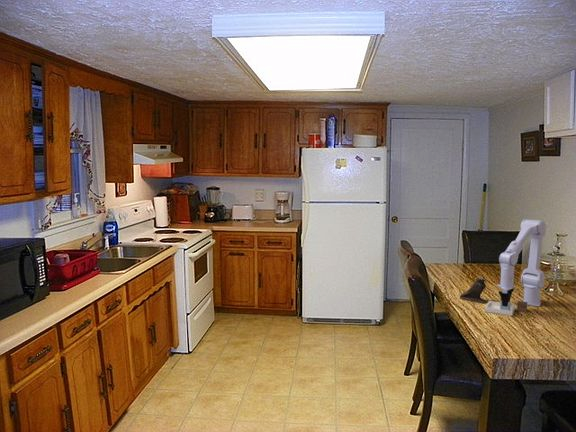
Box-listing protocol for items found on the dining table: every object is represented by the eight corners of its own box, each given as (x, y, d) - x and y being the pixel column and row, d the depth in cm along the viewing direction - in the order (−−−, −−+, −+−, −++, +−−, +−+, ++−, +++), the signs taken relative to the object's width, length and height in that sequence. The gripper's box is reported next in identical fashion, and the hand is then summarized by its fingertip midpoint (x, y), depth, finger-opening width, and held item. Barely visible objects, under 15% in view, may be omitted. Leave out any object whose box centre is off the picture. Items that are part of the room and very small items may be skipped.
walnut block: (518, 308, 222) (518, 300, 221) (527, 309, 219) (527, 302, 219) (517, 310, 218) (517, 302, 218) (526, 312, 216) (526, 304, 216)
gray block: (510, 310, 217) (510, 302, 217) (509, 312, 214) (509, 304, 214) (501, 308, 220) (501, 300, 219) (500, 310, 216) (500, 303, 216)
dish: (489, 305, 226) (489, 300, 226) (515, 309, 220) (515, 304, 219) (484, 312, 216) (485, 307, 216) (512, 316, 210) (512, 311, 210)
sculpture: (483, 304, 229) (484, 279, 228) (458, 298, 239) (460, 275, 237) (487, 301, 233) (488, 277, 232) (463, 296, 243) (464, 273, 241)
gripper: (500, 272, 223) (499, 298, 224) (495, 279, 211) (494, 306, 212) (516, 274, 219) (514, 301, 221) (512, 281, 207) (511, 309, 209)
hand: (506, 304), depth 216 cm, fingers open, 7 cm apart
